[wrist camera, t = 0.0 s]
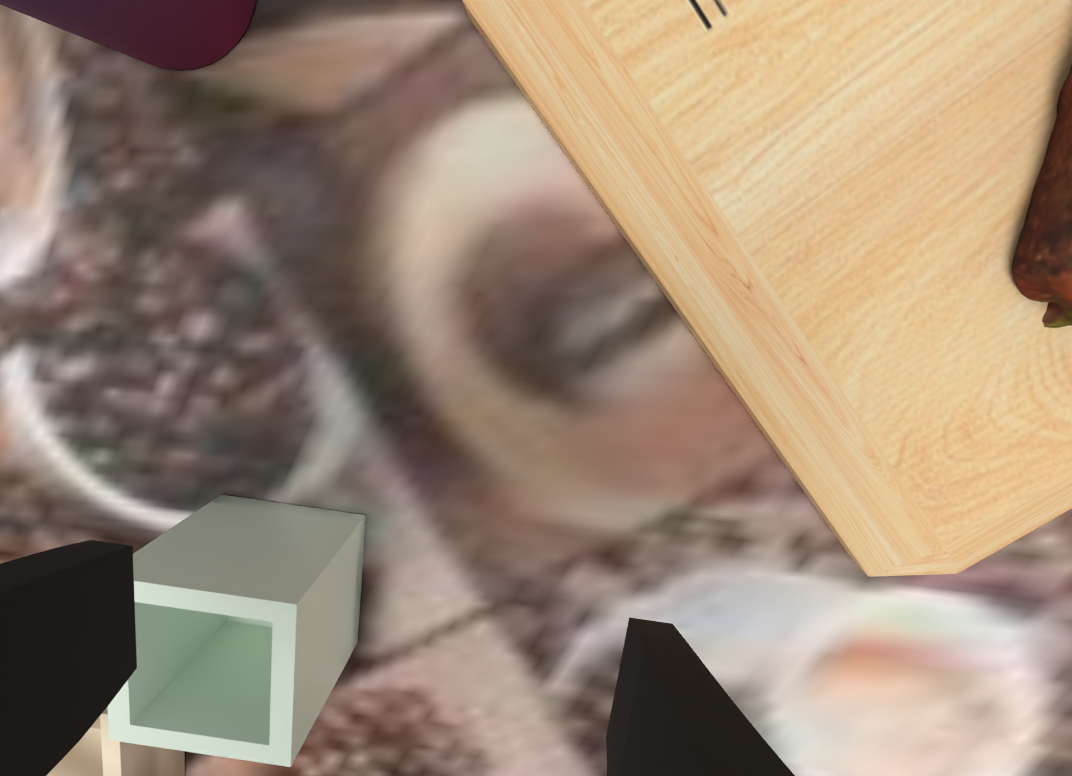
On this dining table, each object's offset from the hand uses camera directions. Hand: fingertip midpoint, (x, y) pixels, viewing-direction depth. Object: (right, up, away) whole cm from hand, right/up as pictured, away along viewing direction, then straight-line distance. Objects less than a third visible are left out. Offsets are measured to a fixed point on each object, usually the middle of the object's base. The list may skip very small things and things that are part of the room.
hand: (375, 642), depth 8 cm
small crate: (-6, -3, +11) cm, 13 cm away
